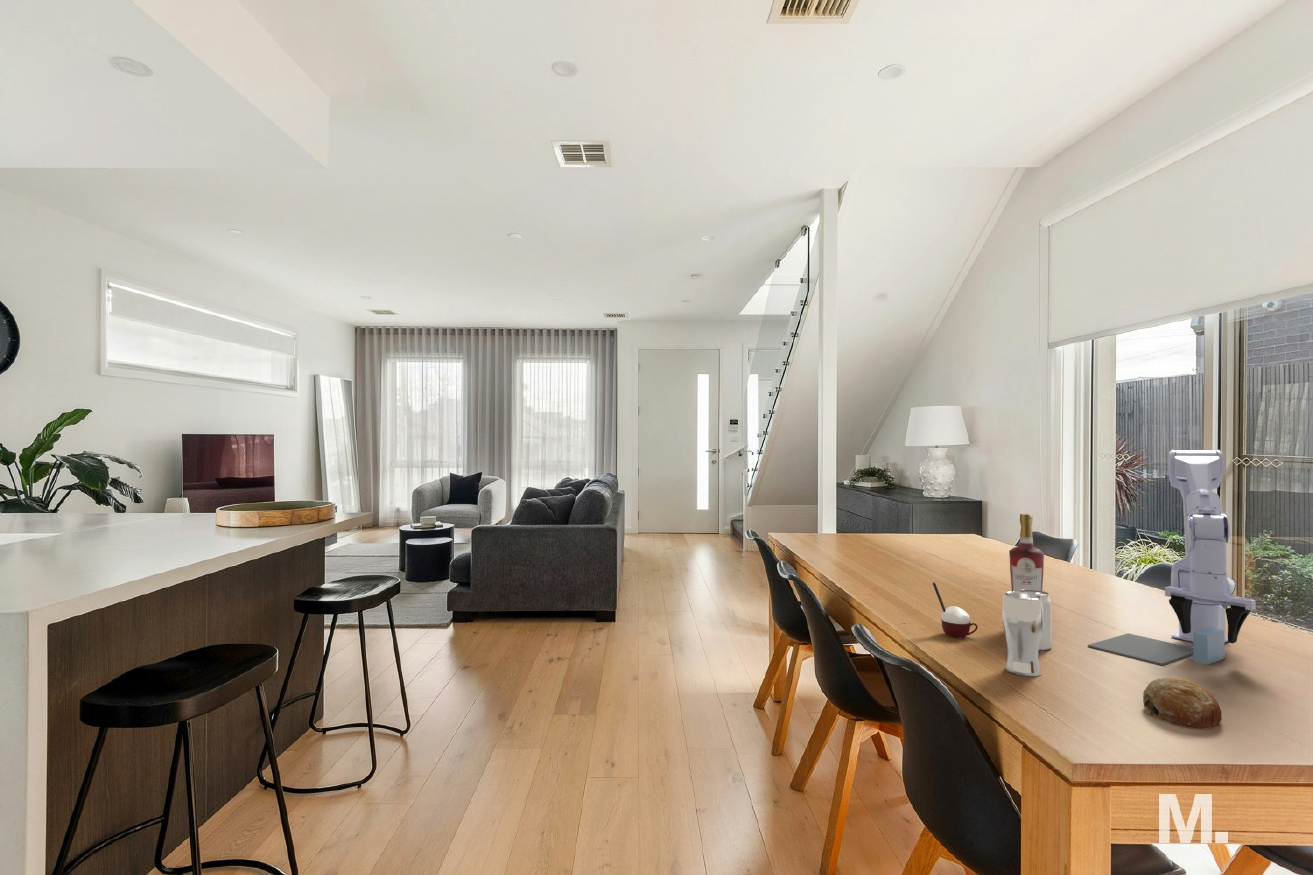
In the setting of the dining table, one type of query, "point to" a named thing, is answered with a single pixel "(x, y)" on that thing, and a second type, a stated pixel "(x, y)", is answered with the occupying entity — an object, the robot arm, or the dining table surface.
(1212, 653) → the block
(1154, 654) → the mat
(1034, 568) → the liquor
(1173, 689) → the bread roll
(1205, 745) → the dining table surface
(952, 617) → the cocoa
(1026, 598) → the beer glass
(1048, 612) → the can
